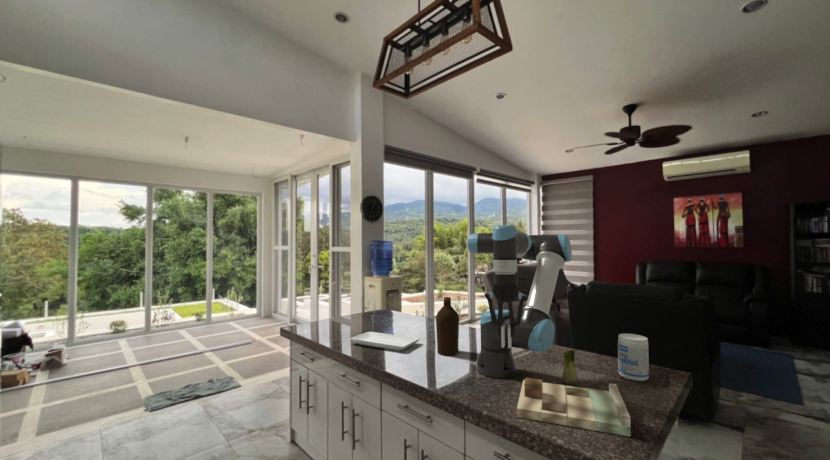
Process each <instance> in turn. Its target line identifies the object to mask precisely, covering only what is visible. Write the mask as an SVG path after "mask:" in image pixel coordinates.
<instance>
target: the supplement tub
mask: <svg viewBox="0 0 830 460" xmlns="http://www.w3.org/2000/svg"><path fill="white" fill-rule="evenodd" d="M649 362H650V361H649V339H648V337H646V336H644V335H641V334H635V333H619V334H618V339H617V363H618V364H617V369H618V374H619V375H620V376H621V377H622V378H624V379H627V380H631V381H638V382H645V381H647V380H648V379H649V377H650V368H649V366H650V365H649V364H650V363H649Z"/></svg>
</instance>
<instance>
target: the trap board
mask: <svg viewBox="0 0 830 460" xmlns="http://www.w3.org/2000/svg"><path fill="white" fill-rule="evenodd" d="M524 383H525V379H523V380H522V385H521V388H520V393H519V398H518V401H517V406H516V417H517V418H521V419H526V420H531V421H537V420H538V421H539V422H543V423H549V424H554V425H555V424H556V425H561V426H566V427H572V428H579V429H584V430H589V431H596V432H600V433H607V434H613V435H619V436H624V437H631V436H632V432H631V427H632V426H631V415H630V413H629V411H628V408H627V406H626V403H625V401H624V400H623V397H622V394H621V392H620V390H619V388H618V385H617V383H609V382H608V390H602V389H595V388H588V387H587V388H586V387H581V386H575V385H573V386H568V385H566V384H557V383H551V382H543V381H542V387H543V394H542V399H537V398H530V397H525V385H524Z"/></svg>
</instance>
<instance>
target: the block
mask: <svg viewBox="0 0 830 460" xmlns="http://www.w3.org/2000/svg"><path fill="white" fill-rule="evenodd" d="M524 380H525V383H524V385H525V397H530V398H537V399H542V394H543V387H542V382H543V379H540V378H531V377H525V379H524Z"/></svg>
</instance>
